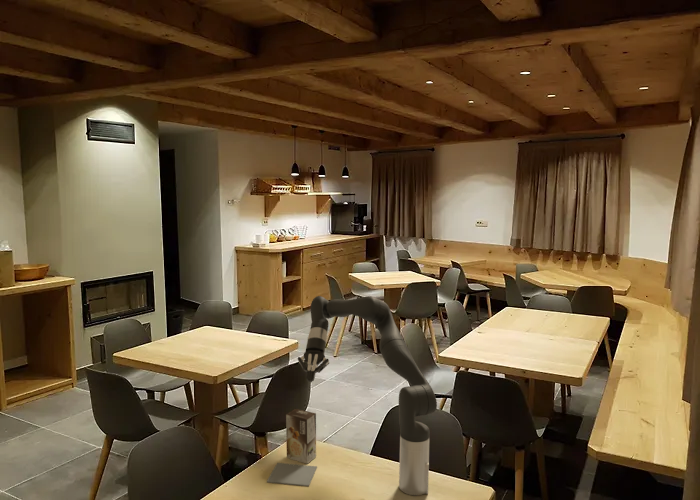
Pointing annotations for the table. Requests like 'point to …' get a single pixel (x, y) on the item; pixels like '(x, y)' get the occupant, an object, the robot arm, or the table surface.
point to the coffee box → (301, 435)
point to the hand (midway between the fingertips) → (309, 381)
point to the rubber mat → (292, 474)
